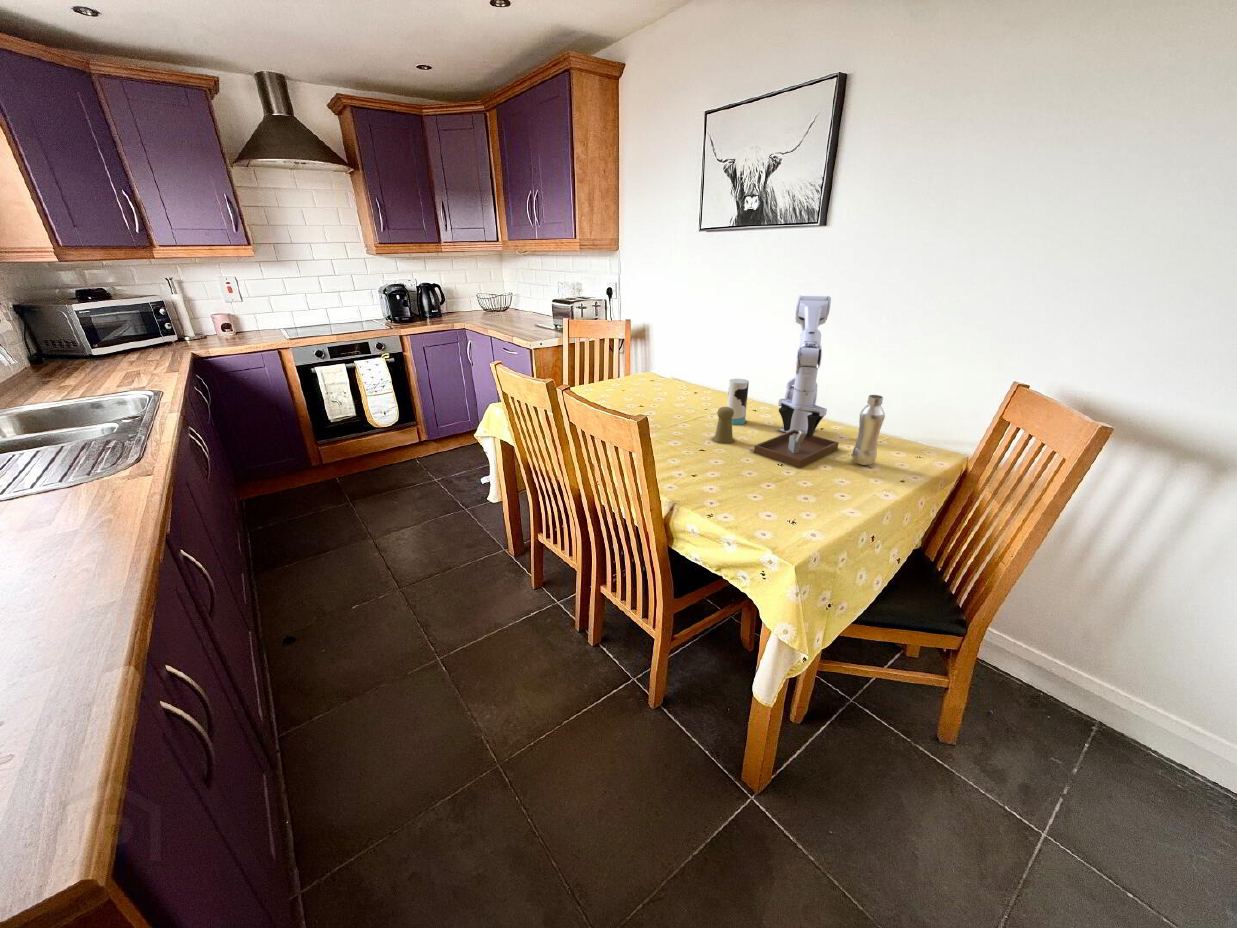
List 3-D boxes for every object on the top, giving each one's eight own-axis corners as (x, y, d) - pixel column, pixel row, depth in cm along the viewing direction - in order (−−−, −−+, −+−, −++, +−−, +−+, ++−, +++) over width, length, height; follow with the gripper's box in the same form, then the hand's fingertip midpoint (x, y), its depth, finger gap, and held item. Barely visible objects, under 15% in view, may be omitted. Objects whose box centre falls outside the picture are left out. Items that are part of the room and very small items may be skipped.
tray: (792, 436, 166) (793, 429, 165) (837, 449, 155) (838, 442, 154) (753, 452, 154) (754, 445, 153) (799, 468, 143) (800, 460, 142)
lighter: (787, 448, 156) (791, 423, 152) (793, 448, 156) (796, 423, 152) (797, 457, 149) (801, 431, 146) (803, 456, 149) (806, 431, 146)
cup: (748, 423, 178) (752, 382, 172) (730, 425, 177) (734, 384, 171) (740, 418, 184) (743, 378, 178) (723, 419, 183) (726, 379, 177)
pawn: (731, 437, 166) (734, 405, 162) (733, 443, 161) (736, 410, 156) (713, 436, 167) (715, 404, 163) (714, 443, 161) (717, 410, 157)
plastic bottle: (873, 460, 147) (887, 394, 139) (876, 469, 141) (890, 400, 133) (849, 457, 149) (861, 392, 141) (851, 466, 143) (864, 398, 135)
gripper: (774, 387, 147) (769, 430, 153) (820, 397, 137) (813, 443, 142) (788, 383, 151) (782, 425, 157) (833, 392, 141) (825, 437, 147)
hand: (797, 433), depth 150 cm, fingers open, 7 cm apart
